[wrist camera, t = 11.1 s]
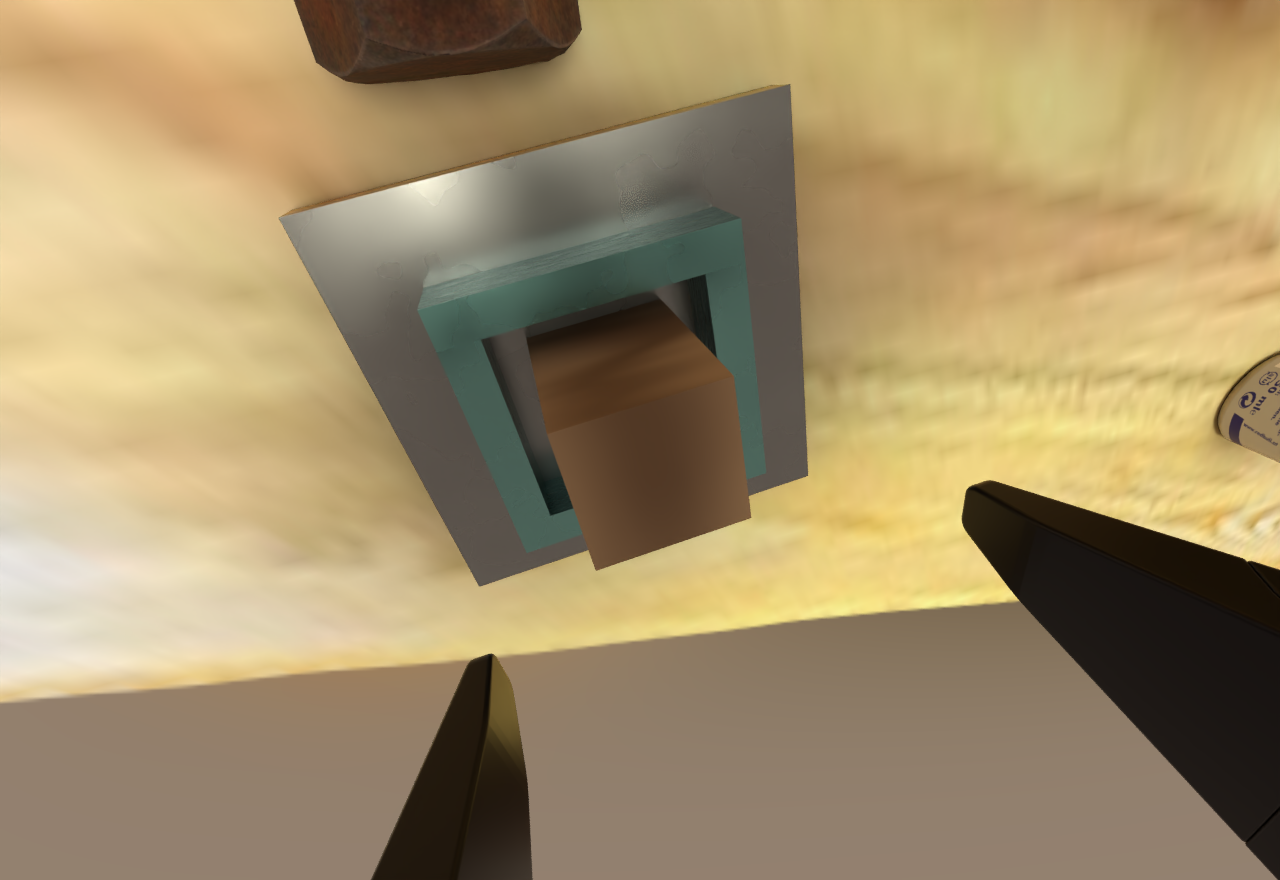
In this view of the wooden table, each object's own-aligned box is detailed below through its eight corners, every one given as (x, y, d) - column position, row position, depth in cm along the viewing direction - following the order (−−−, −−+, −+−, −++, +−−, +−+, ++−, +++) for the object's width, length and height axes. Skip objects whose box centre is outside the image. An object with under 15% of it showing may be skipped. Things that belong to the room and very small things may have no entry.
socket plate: (770, 85, 16) (828, 81, 14) (794, 460, 24) (833, 504, 21) (291, 209, 15) (252, 233, 12) (479, 565, 23) (479, 626, 20)
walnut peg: (660, 298, 18) (734, 376, 13) (682, 414, 20) (751, 517, 15) (526, 338, 17) (546, 434, 12) (565, 451, 20) (596, 570, 15)
